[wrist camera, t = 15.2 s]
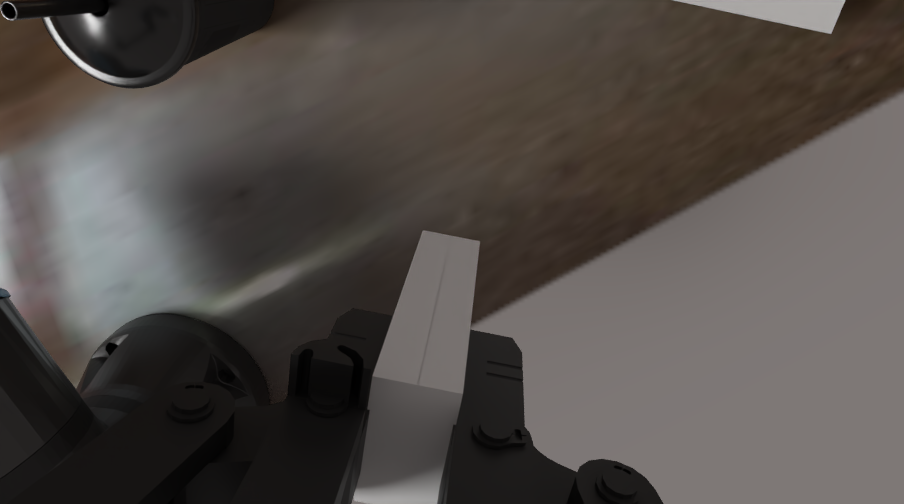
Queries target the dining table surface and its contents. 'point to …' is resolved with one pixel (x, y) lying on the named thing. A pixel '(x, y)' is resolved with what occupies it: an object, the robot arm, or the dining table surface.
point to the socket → (782, 11)
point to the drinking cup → (140, 33)
